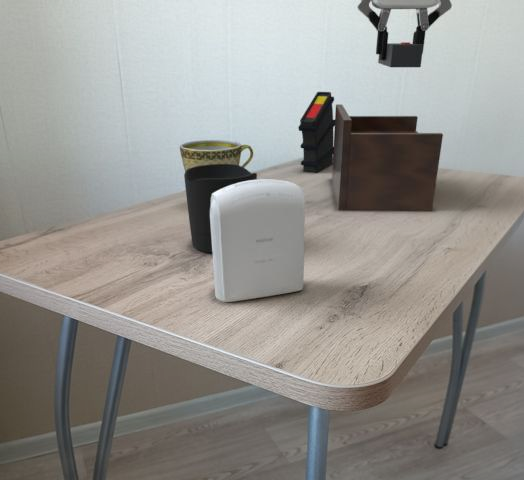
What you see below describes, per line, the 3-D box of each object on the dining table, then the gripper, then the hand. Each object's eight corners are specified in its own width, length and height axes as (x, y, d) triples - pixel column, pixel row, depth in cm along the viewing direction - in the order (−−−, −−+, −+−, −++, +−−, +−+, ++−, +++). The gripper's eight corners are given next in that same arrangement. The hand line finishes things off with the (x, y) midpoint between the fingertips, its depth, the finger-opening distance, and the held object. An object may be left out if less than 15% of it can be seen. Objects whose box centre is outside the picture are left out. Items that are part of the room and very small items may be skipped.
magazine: (339, 154, 126) (333, 91, 114) (320, 190, 119) (311, 128, 108) (323, 152, 127) (316, 90, 115) (304, 189, 121) (294, 127, 109)
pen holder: (179, 253, 73) (172, 176, 68) (203, 232, 81) (199, 162, 76) (246, 259, 71) (244, 180, 66) (265, 237, 79) (265, 165, 74)
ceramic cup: (201, 217, 88) (196, 152, 83) (174, 204, 95) (169, 143, 90) (268, 205, 94) (268, 144, 89) (239, 193, 101) (237, 136, 96)
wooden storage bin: (408, 181, 109) (418, 104, 102) (431, 212, 90) (445, 120, 83) (331, 180, 110) (335, 104, 103) (338, 211, 91) (343, 120, 84)
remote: (404, 63, 96) (406, 41, 94) (420, 67, 83) (423, 42, 81) (378, 63, 96) (379, 41, 94) (390, 67, 83) (392, 42, 81)
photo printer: (220, 306, 59) (214, 189, 53) (210, 291, 62) (203, 180, 56) (308, 293, 62) (312, 180, 56) (294, 279, 65) (297, 172, 59)
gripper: (357, -87, 77) (347, 60, 86) (480, -89, 76) (457, 60, 85) (352, -77, 84) (344, 59, 93) (465, -79, 83) (446, 59, 92)
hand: (398, 58), depth 89 cm, fingers closed on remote, 4 cm apart
